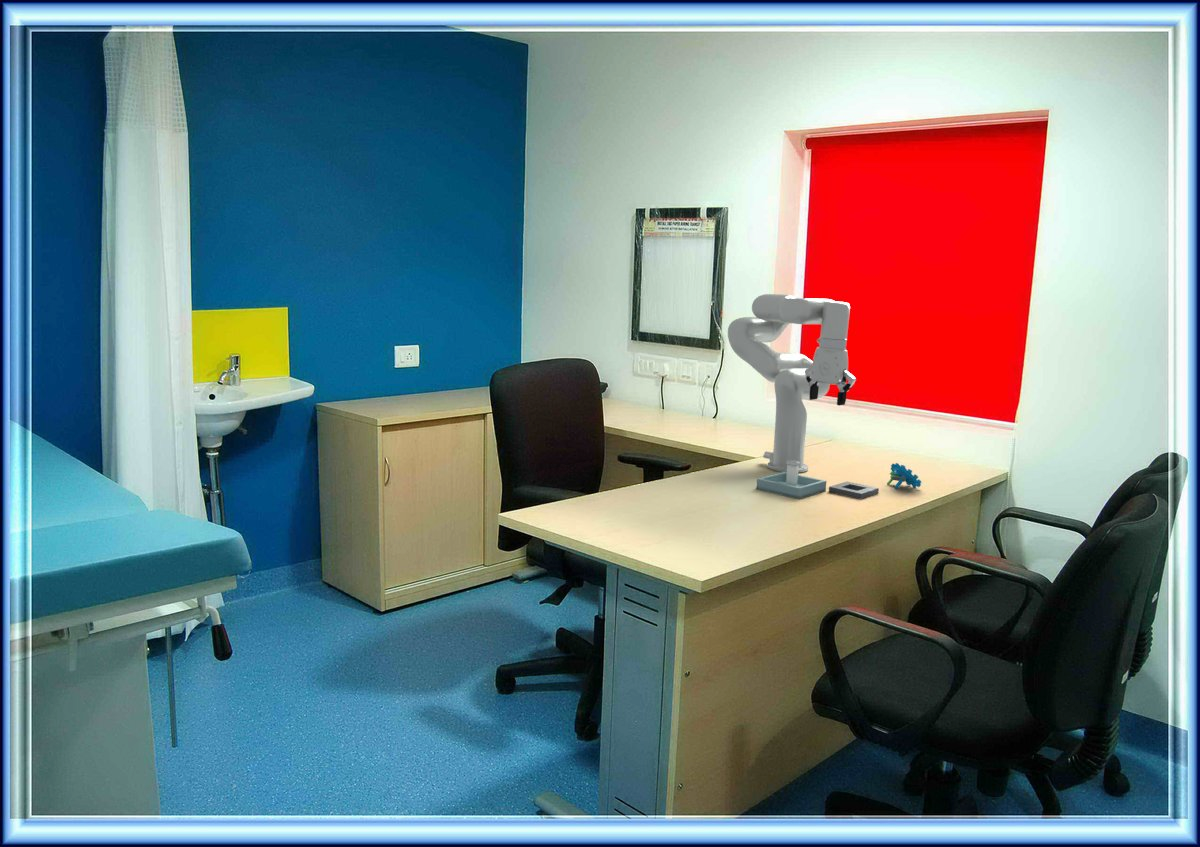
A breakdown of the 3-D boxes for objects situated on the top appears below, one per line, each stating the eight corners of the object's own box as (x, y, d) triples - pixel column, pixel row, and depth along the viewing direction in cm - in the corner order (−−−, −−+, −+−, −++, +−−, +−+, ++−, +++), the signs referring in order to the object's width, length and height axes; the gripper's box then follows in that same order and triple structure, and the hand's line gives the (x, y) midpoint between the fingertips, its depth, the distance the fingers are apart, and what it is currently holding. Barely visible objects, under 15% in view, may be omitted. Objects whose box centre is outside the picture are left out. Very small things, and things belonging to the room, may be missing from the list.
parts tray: (756, 489, 255) (757, 478, 254) (783, 481, 265) (784, 471, 264) (798, 499, 245) (799, 488, 245) (825, 491, 255) (826, 480, 254)
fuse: (782, 487, 255) (784, 461, 253) (789, 485, 257) (791, 459, 256) (793, 489, 252) (795, 463, 251) (800, 487, 255) (802, 461, 253)
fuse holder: (828, 491, 254) (829, 486, 254) (846, 486, 261) (847, 481, 261) (860, 498, 247) (861, 493, 247) (878, 493, 254) (878, 488, 254)
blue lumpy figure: (929, 486, 258) (908, 462, 256) (916, 501, 257) (895, 477, 255) (905, 482, 269) (885, 459, 266) (893, 496, 268) (872, 474, 265)
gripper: (800, 341, 264) (795, 398, 268) (850, 348, 251) (844, 408, 255) (816, 340, 269) (810, 396, 273) (865, 347, 256) (859, 406, 260)
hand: (826, 402), depth 264 cm, fingers open, 9 cm apart
